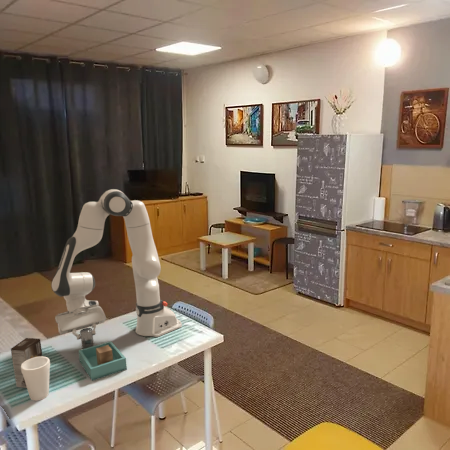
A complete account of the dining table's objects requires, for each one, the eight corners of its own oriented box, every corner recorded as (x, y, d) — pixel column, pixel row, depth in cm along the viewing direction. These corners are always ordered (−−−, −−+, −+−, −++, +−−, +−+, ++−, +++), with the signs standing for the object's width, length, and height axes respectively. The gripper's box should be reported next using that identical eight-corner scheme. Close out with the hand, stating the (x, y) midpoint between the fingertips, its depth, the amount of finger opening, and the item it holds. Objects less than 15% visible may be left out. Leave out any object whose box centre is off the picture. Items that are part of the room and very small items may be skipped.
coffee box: (31, 374, 167) (26, 337, 164) (45, 375, 166) (40, 338, 163) (15, 387, 159) (10, 348, 155) (30, 388, 157) (25, 349, 154)
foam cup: (51, 400, 150) (47, 367, 147) (23, 405, 147) (18, 372, 145) (54, 385, 159) (50, 354, 156) (28, 390, 156) (23, 358, 154)
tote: (112, 351, 184) (111, 341, 183) (126, 369, 169) (125, 358, 168) (79, 361, 176) (78, 350, 175) (91, 380, 161) (90, 369, 160)
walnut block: (109, 362, 172) (108, 344, 171) (113, 368, 168) (112, 349, 167) (97, 366, 170) (95, 348, 168) (101, 372, 166) (99, 353, 164)
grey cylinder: (92, 343, 187) (90, 326, 185) (95, 347, 183) (93, 330, 181) (80, 346, 184) (78, 330, 182) (83, 351, 180) (81, 334, 178)
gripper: (54, 311, 181) (62, 341, 175) (101, 300, 192) (110, 327, 186) (53, 317, 185) (61, 346, 179) (99, 306, 196) (108, 333, 190)
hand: (86, 336), depth 183 cm, fingers closed on grey cylinder, 5 cm apart
